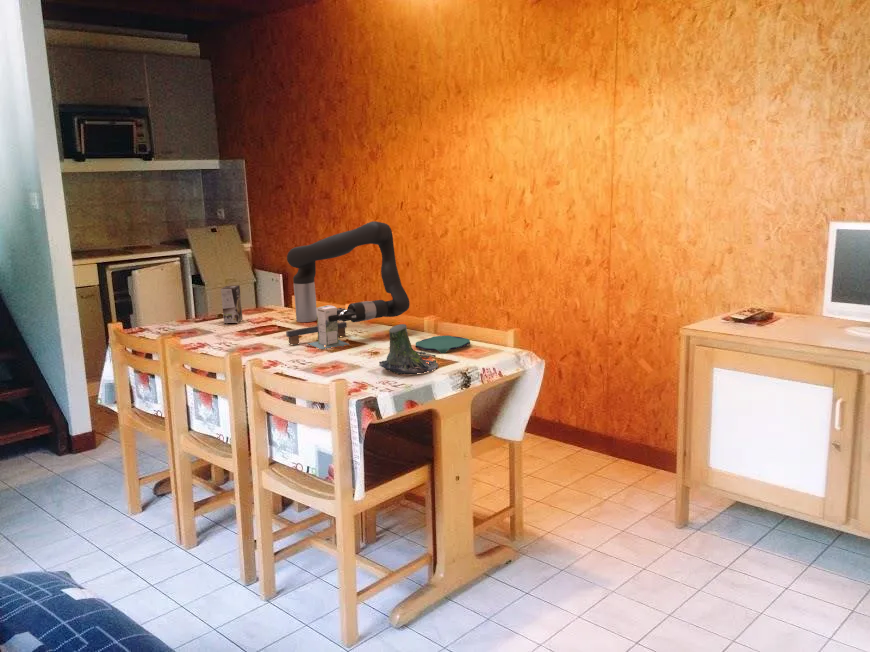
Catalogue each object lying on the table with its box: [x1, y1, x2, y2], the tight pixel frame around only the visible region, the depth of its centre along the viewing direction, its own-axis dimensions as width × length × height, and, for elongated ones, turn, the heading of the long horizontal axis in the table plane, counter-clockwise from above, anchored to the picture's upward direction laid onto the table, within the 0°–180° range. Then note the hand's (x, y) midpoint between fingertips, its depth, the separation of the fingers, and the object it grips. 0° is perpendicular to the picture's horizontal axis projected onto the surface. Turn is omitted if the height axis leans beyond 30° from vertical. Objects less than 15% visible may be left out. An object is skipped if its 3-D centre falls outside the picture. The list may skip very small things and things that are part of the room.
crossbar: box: [285, 321, 348, 338], centre depth 299 cm, size 2×25×2 cm, turn 122°
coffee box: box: [220, 285, 244, 324], centre depth 339 cm, size 9×6×16 cm
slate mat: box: [307, 339, 350, 350], centre depth 291 cm, size 12×12×1 cm
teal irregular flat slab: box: [415, 335, 471, 359], centre depth 278 cm, size 20×30×2 cm, turn 136°
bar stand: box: [288, 328, 347, 345], centre depth 299 cm, size 3×23×4 cm, turn 123°
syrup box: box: [316, 304, 339, 346], centre depth 290 cm, size 6×6×14 cm
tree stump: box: [378, 323, 439, 375], centre depth 252 cm, size 18×20×18 cm
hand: (324, 317), depth 288 cm, fingers open, 8 cm apart
